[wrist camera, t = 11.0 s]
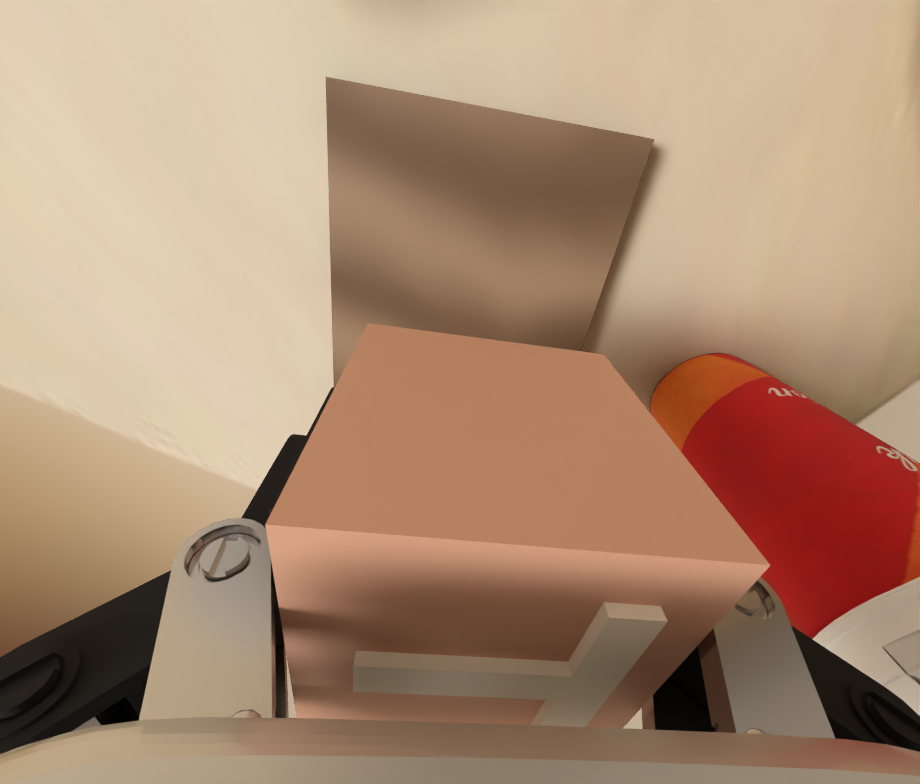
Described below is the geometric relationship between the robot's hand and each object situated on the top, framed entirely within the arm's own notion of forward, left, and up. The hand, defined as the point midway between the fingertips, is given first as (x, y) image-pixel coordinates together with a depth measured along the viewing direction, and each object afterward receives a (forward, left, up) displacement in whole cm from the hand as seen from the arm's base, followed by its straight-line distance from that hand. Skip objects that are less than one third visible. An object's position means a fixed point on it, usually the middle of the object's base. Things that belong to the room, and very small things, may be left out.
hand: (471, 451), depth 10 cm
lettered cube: (0, 0, -1) cm, 1 cm away
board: (0, 0, -10) cm, 10 cm away
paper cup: (+3, +14, -10) cm, 18 cm away
